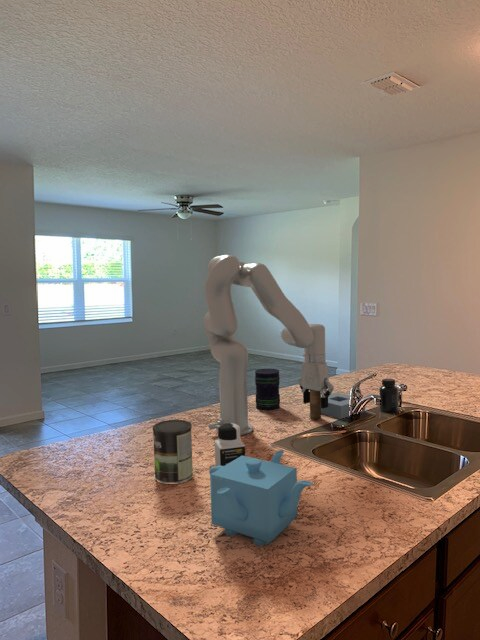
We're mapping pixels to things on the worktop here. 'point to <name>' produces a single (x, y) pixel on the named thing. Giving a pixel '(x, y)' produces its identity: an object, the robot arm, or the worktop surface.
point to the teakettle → (255, 497)
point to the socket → (338, 406)
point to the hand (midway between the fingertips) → (315, 405)
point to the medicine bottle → (228, 444)
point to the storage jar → (267, 389)
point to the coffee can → (173, 451)
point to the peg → (315, 405)
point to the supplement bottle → (389, 396)
